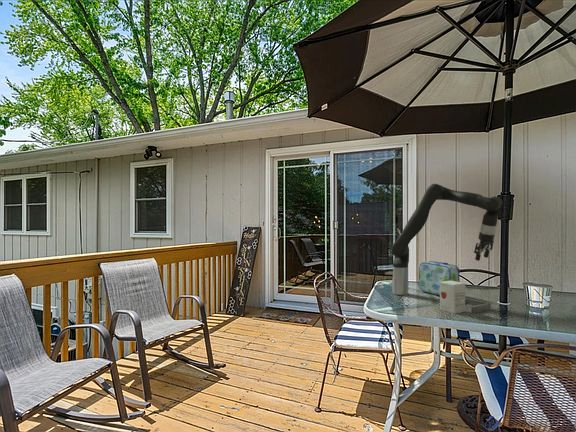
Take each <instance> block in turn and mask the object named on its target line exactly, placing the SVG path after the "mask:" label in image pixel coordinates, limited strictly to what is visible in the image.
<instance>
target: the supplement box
mask: <svg viewBox="0 0 576 432" xmlns="http://www.w3.org/2000/svg"><path fill="white" fill-rule="evenodd" d="M465 298H466V283H465V282H461V281H460V282H456V281H443V282H440V296H439V310H440V311H444V312H446V313H450V314H460V313H466V304H465Z"/></svg>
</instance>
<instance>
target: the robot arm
mask: <svg viewBox="0 0 576 432" xmlns="http://www.w3.org/2000/svg"><path fill="white" fill-rule="evenodd" d="M439 200H440V201H451V202H457V203H460V204H463V205H467V206H472V207H477V208H480V209H482V210H485V213H484V214H483V216H482V221H481V225H480V227H479V232H478V240H479V242H476V243H475V246H474V247H475V248H474V251H473V253H474V254H475V257H474V258H475V259H474V260H475V261H478V262H479V261H480V260H481V255H482V253H483V257H484V258H486V259H487V258H489V254H490V252H491V251H493V248H494V242H495V235H496V230H497V225H498V219H499V216H500V213H499V208H500V207H501V205H502V206H503V199H501V198H500V197H499V196H496V195H495V196H491V197H488V196H484V195H482V194H479V193H474V192H469V191H462V190H460V191H459V190H454V189H450V188H447V187H444V186H443V185H441V184H438V183H432V184H430V185H429V186H428V187H427V188H426V190H425V192H424V194H423V196H422V199H421V200H420V202H419V204H418V205H417V207H416V208H415V210H414V211H413V213H412V214H411V216H410V218H409V219H408V221H407V222H406V225H405V226H404V228H403V230H402V231H401V234H399V236H398V237H397V239H396V240H395V241H394V242H393V244H392V245H391V249H390V251H391V254H392V256H394V260H393V262H392V277H391V293H392V294H393V295H399V296H407V295H408V294H409V263H410V262H409V261H410V246H409V244H410V243H411V241H412V240H413V239H414V238H415V237H416V235H418V234H419V232H420V231H421V230H422V229H423V227H424V226H425V225H426V224H427V221H428V219H429V216H430V210H431V208H432V207H433V205H434V204H435V202H436V201H439ZM487 203H489V204H487Z"/></svg>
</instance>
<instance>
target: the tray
mask: <svg viewBox="0 0 576 432" xmlns="http://www.w3.org/2000/svg"><path fill="white" fill-rule="evenodd" d="M465 305H470V306H471V307H470V308H471V309H470V312H471V313H473V314H476V313H479V312H484V311H488V310H491V309H492V303H491V302H486V301H484V300H483V301H482V300H477V299H474V298H473V299H472V298H468V297H465Z"/></svg>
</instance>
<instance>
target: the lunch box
mask: <svg viewBox="0 0 576 432" xmlns="http://www.w3.org/2000/svg"><path fill="white" fill-rule="evenodd" d="M460 273H461V271H460V269H459V267H458V266H457V265H456V264H449V263H448V262H440V261H433V260H430V261H423V262H421V263H420V264H419V267H418V288H419V289H420V291H421V292H425V293H428V294H432V295H435V296H439V297H440V282H443V281H456V282H461V281H460V279H461V278H460Z"/></svg>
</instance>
